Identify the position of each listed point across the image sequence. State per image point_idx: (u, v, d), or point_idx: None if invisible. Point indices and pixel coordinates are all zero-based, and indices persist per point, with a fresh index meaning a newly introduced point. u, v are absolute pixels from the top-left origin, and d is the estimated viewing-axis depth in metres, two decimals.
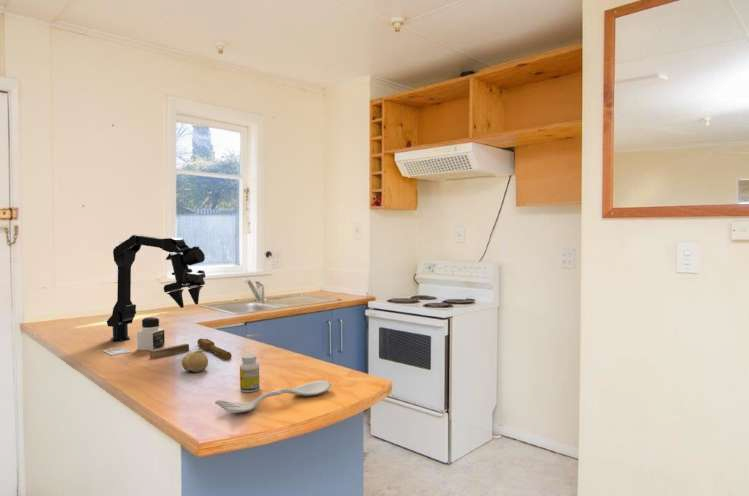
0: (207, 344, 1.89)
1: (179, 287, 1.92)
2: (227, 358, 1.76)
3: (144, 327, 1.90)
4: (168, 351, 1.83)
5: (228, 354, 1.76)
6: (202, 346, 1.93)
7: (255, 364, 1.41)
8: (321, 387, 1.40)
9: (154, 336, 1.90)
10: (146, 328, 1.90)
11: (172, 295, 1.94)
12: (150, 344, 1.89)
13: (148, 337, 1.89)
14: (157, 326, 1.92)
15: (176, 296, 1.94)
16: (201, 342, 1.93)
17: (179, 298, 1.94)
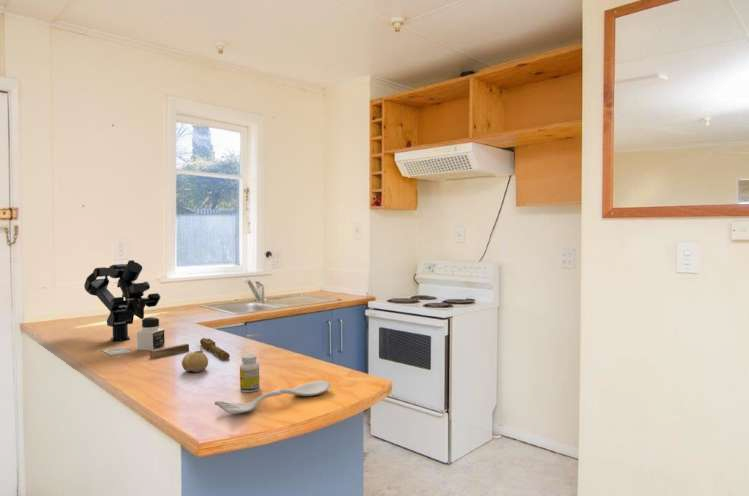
0: (208, 344, 1.90)
1: (118, 300, 1.93)
2: (225, 358, 1.75)
3: (144, 327, 1.90)
4: (168, 351, 1.83)
5: (226, 354, 1.75)
6: (204, 346, 1.93)
7: (255, 364, 1.41)
8: (320, 387, 1.40)
9: (154, 336, 1.90)
10: (146, 328, 1.90)
11: (131, 310, 1.99)
12: (150, 344, 1.89)
13: (148, 337, 1.89)
14: (157, 326, 1.92)
15: (134, 310, 1.98)
16: (203, 342, 1.94)
17: (136, 310, 1.97)
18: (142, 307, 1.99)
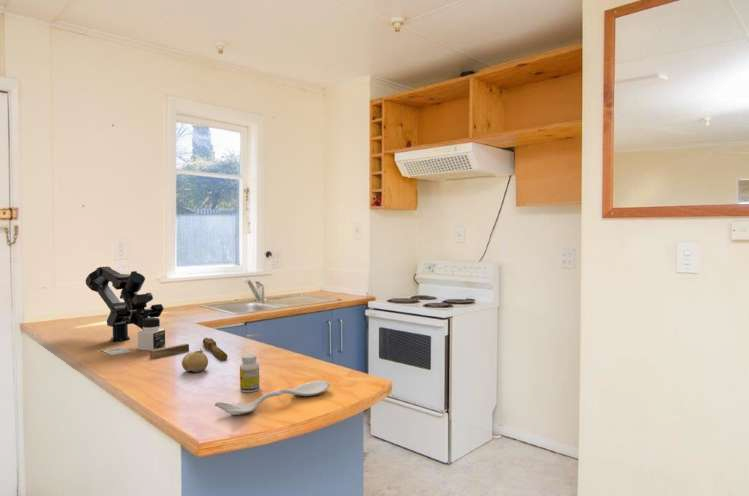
0: (209, 344, 1.90)
1: (121, 312, 1.92)
2: (223, 359, 1.75)
3: (144, 327, 1.90)
4: (168, 351, 1.83)
5: (224, 355, 1.75)
6: (205, 346, 1.93)
7: (255, 364, 1.41)
8: (319, 387, 1.40)
9: (154, 336, 1.89)
10: (146, 328, 1.90)
11: (134, 322, 1.97)
12: (150, 344, 1.89)
13: (149, 337, 1.89)
14: (157, 326, 1.92)
15: (137, 321, 1.97)
16: (205, 342, 1.94)
17: (139, 321, 1.96)
18: None
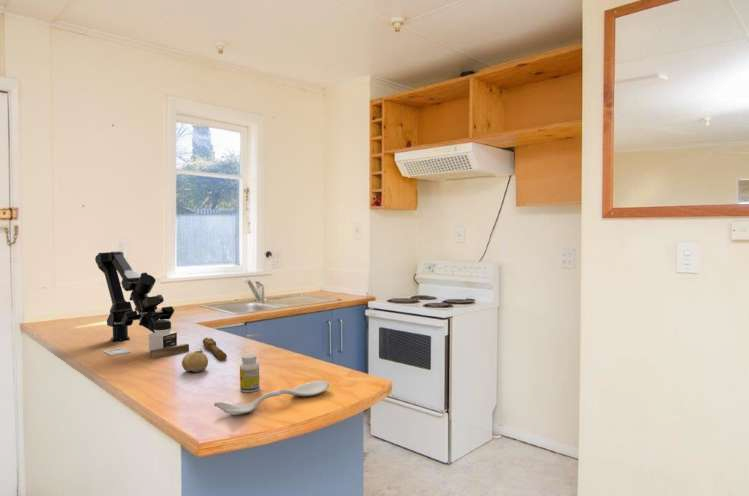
0: (209, 344, 1.90)
1: (132, 314, 1.86)
2: (222, 359, 1.75)
3: (155, 329, 1.85)
4: (168, 351, 1.83)
5: (223, 355, 1.75)
6: (205, 345, 1.93)
7: (255, 364, 1.41)
8: (319, 387, 1.40)
9: (164, 339, 1.84)
10: (157, 331, 1.85)
11: (144, 325, 1.92)
12: (160, 348, 1.84)
13: (159, 340, 1.84)
14: (168, 329, 1.87)
15: (147, 324, 1.92)
16: (205, 341, 1.94)
17: (149, 324, 1.90)
18: None
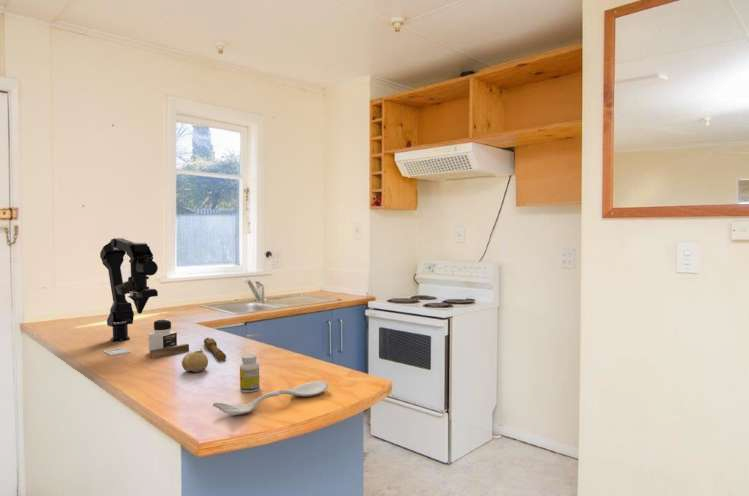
0: (209, 344, 1.89)
1: None
2: (221, 359, 1.74)
3: (155, 329, 1.85)
4: (168, 351, 1.83)
5: (222, 355, 1.74)
6: (206, 346, 1.93)
7: (255, 364, 1.41)
8: (318, 388, 1.39)
9: (164, 339, 1.84)
10: (157, 331, 1.85)
11: None
12: (160, 348, 1.84)
13: (159, 340, 1.84)
14: (168, 329, 1.87)
15: None
16: (205, 342, 1.94)
17: None
18: (137, 303, 1.95)
